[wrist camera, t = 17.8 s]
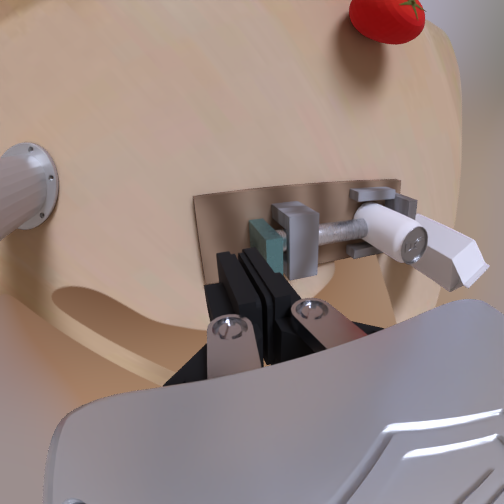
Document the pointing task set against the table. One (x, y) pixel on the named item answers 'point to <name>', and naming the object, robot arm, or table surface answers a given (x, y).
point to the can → (393, 233)
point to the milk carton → (449, 256)
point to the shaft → (275, 240)
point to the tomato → (388, 19)
